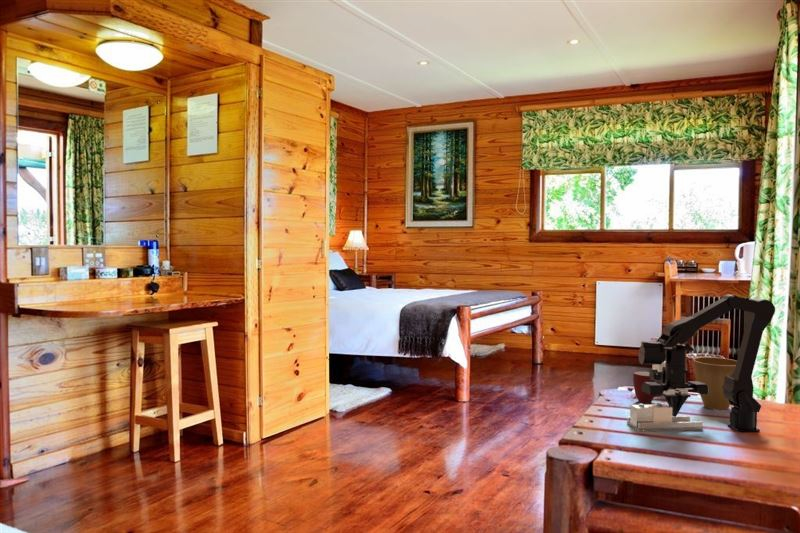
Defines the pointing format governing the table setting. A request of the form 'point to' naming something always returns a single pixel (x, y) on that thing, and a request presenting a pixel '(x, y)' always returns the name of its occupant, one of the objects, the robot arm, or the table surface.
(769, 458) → the table surface
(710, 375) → the plant pot
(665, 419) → the block
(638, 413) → the rail
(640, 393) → the mug
